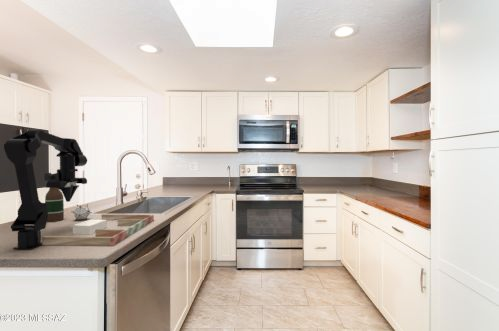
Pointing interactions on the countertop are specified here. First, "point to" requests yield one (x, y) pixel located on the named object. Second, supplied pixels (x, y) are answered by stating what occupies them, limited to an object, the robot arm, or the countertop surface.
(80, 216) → the geometric wire polyhedron
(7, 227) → the countertop surface
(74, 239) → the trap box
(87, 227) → the white rectangular box
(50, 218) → the beer bottle
